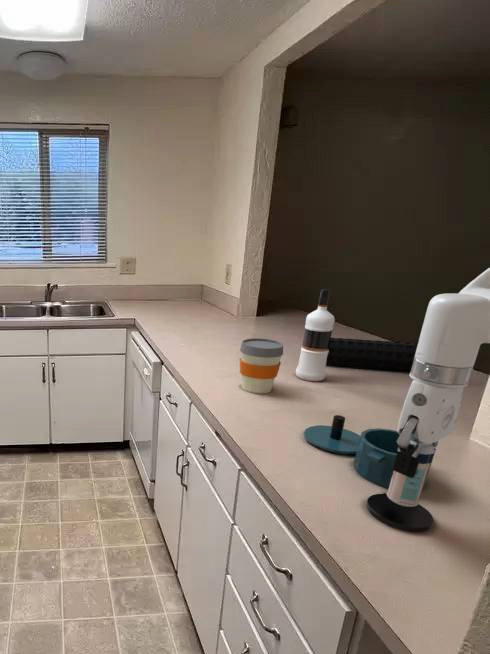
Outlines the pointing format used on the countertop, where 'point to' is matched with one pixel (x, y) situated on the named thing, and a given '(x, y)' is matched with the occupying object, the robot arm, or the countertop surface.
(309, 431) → the lid
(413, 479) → the beer can
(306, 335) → the vodka
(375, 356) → the roller
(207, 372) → the countertop surface
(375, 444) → the pot
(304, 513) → the countertop surface
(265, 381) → the reusable coffee cup
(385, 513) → the black plate
